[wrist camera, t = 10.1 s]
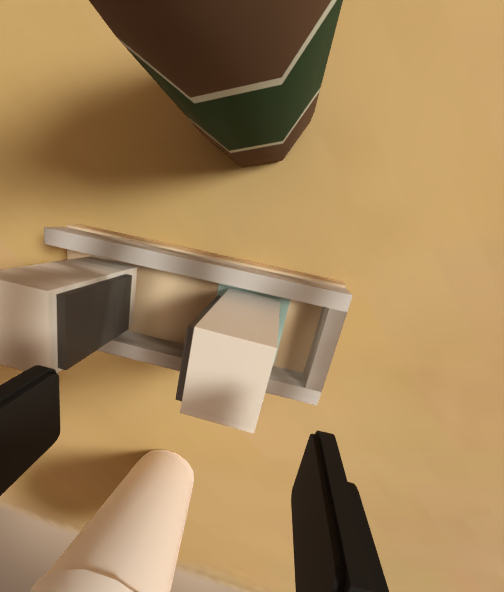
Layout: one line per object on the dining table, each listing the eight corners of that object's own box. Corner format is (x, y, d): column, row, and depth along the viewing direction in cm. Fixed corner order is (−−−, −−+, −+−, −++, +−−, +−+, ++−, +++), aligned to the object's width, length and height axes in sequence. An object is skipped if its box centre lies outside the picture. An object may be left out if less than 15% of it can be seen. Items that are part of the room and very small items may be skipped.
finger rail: (80, 324, 24) (-44, 383, 15) (81, 224, 22) (-68, 223, 12) (311, 380, 23) (329, 484, 14) (342, 281, 20) (389, 326, 11)
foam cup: (142, 422, 26) (13, 599, 14) (222, 463, 26) (166, 675, 14) (114, 481, 29) (-14, 674, 16) (187, 519, 29) (114, 737, 17)
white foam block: (212, 343, 21) (170, 410, 13) (223, 286, 20) (184, 324, 12) (265, 357, 21) (253, 433, 13) (280, 300, 19) (277, 348, 12)
